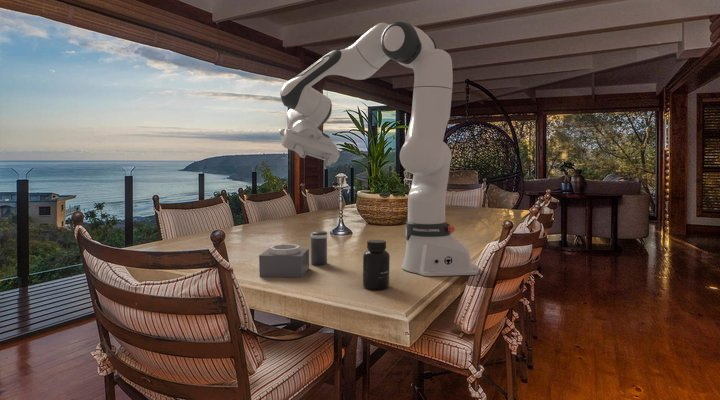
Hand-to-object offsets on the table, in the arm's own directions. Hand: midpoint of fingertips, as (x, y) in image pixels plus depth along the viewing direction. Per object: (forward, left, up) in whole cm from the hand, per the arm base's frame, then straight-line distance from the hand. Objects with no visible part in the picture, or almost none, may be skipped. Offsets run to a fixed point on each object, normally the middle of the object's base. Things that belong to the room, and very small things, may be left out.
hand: (316, 160), depth 134 cm
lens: (-1, +4, -33) cm, 33 cm away
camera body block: (+7, +15, -33) cm, 36 cm away
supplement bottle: (-20, +27, -33) cm, 47 cm away
